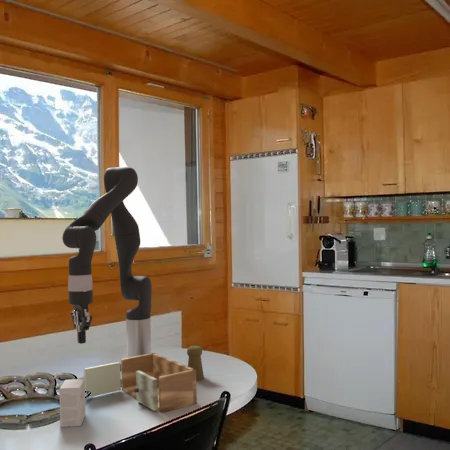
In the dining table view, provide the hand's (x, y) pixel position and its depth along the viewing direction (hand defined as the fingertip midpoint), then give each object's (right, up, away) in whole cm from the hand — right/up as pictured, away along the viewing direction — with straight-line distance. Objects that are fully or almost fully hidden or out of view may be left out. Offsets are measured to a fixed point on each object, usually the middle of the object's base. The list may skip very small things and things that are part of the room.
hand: (81, 342), depth 169 cm
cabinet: (+24, -16, -5) cm, 29 cm away
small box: (+4, -17, -23) cm, 29 cm away
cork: (+35, -15, +13) cm, 41 cm away
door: (+7, -15, -2) cm, 17 cm away
